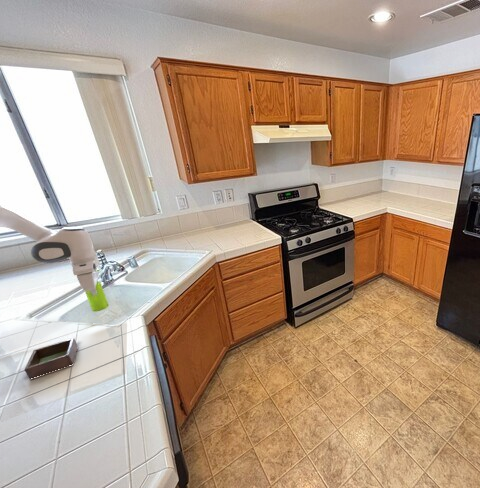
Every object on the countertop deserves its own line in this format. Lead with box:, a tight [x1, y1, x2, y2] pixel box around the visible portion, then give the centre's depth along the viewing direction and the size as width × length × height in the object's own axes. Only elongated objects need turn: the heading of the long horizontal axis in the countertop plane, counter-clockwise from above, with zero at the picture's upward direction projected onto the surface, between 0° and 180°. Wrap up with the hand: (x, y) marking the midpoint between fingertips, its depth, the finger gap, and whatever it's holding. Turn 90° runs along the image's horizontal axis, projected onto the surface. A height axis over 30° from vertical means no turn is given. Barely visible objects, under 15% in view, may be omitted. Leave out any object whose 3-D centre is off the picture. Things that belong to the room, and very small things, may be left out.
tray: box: [24, 337, 79, 380], centre depth 91 cm, size 11×11×5 cm
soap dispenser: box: [84, 268, 109, 312], centre depth 118 cm, size 6×7×20 cm
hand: (95, 290), depth 118 cm, fingers closed on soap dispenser, 6 cm apart
